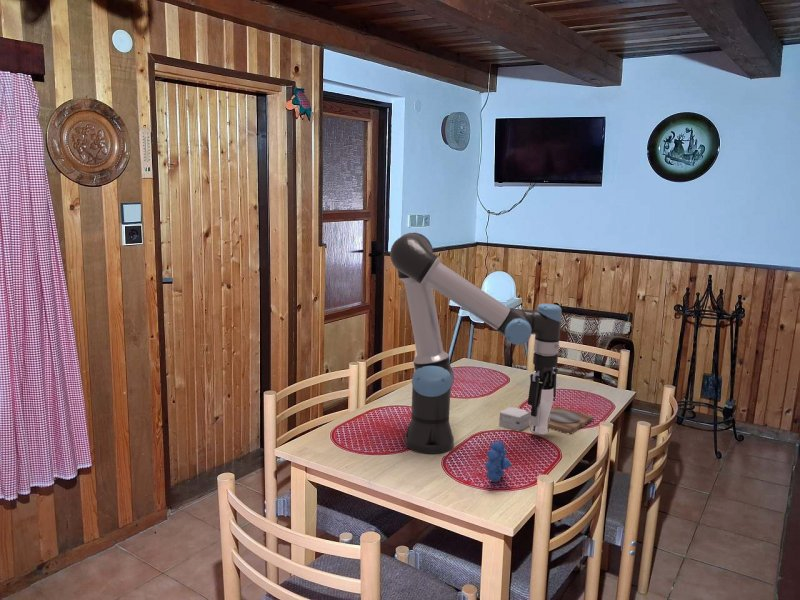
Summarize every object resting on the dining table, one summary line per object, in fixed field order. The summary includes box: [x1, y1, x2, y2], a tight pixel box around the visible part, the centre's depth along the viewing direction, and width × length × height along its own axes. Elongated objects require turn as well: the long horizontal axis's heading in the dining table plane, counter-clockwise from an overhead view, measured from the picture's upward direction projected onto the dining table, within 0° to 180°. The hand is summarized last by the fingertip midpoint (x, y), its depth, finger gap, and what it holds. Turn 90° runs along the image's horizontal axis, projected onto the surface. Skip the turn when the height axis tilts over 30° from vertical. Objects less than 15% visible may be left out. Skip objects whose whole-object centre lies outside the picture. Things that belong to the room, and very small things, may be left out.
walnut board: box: [548, 406, 595, 435], centre depth 227 cm, size 18×14×2 cm
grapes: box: [484, 440, 512, 483], centre depth 178 cm, size 12×7×12 cm, turn 153°
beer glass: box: [529, 386, 554, 436], centre depth 211 cm, size 7×7×15 cm
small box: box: [498, 406, 531, 432], centre depth 222 cm, size 8×8×5 cm
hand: (539, 422), depth 212 cm, fingers closed on beer glass, 7 cm apart
